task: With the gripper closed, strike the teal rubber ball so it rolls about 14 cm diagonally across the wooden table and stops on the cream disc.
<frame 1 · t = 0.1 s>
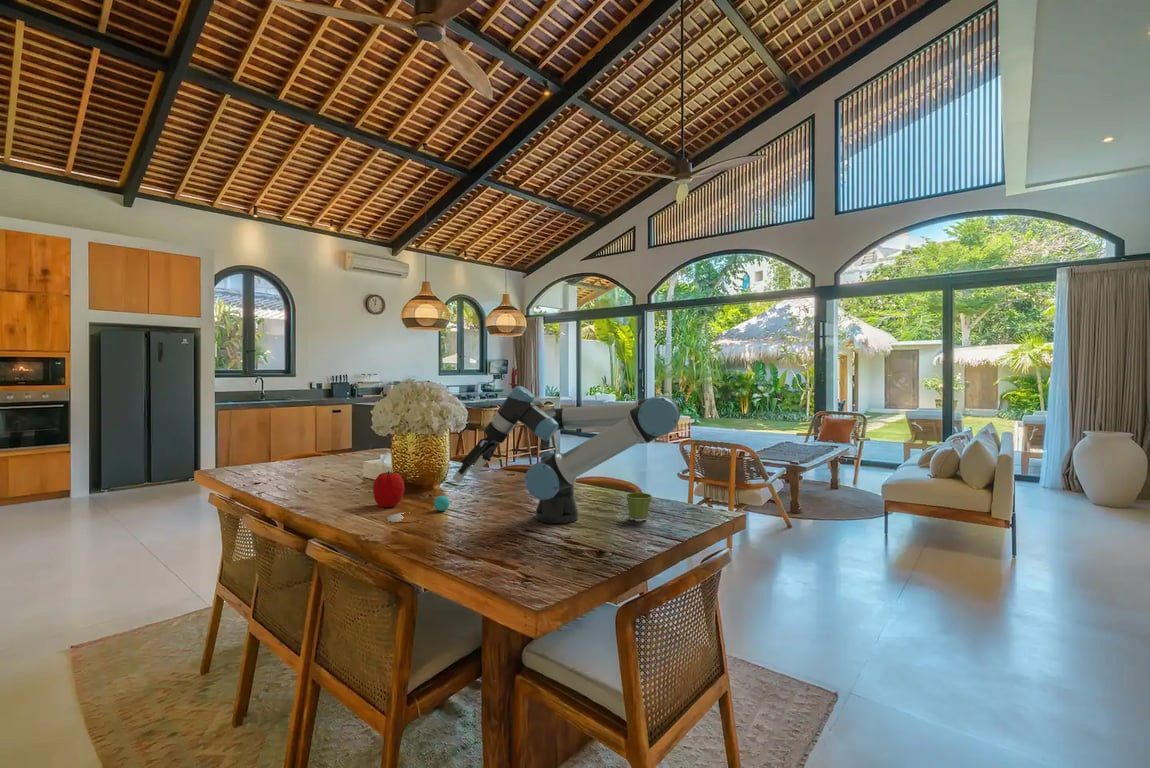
hand: (464, 476, 180), 15 cm above the table, tool tilted 35°, fingers open, 13 cm apart
tomato: (388, 506, 200), on the table
plant pot: (638, 520, 186), on the table
ball: (441, 503, 195), on the table
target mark: (406, 517, 184), on the table
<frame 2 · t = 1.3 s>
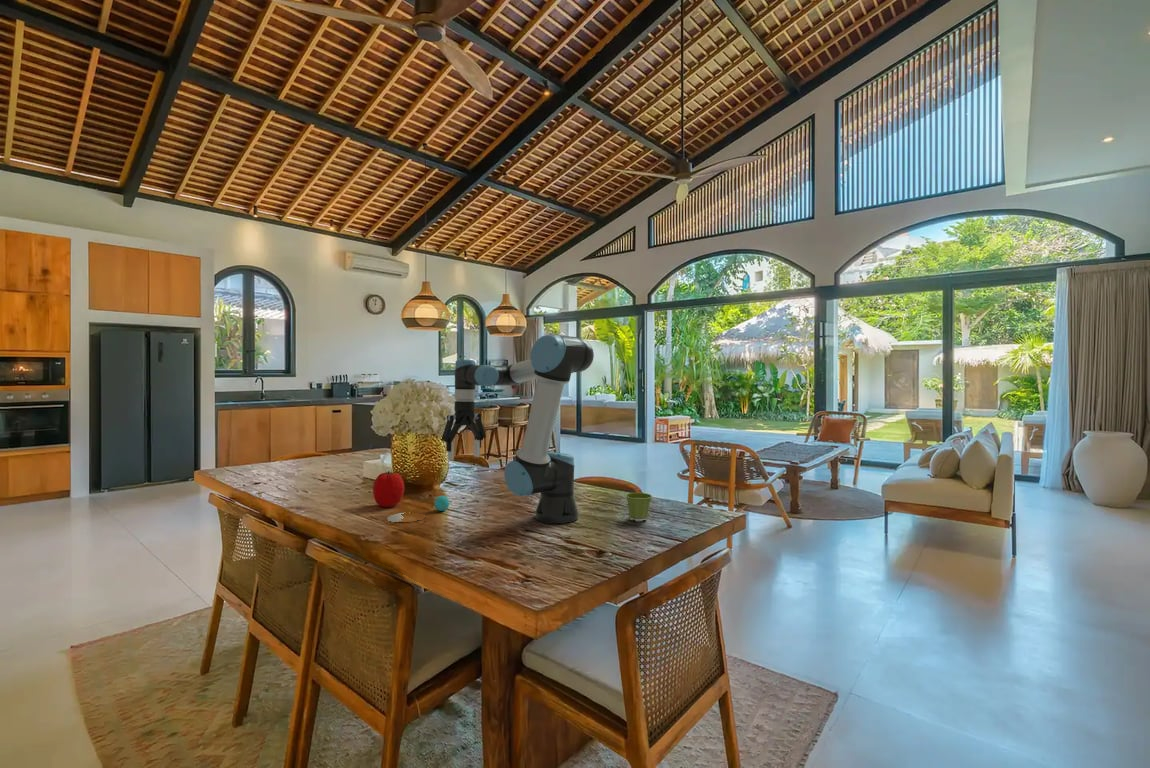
hand: (463, 458, 201), 18 cm above the table, tool pointing down, fingers open, 11 cm apart
nothing on the table moved.
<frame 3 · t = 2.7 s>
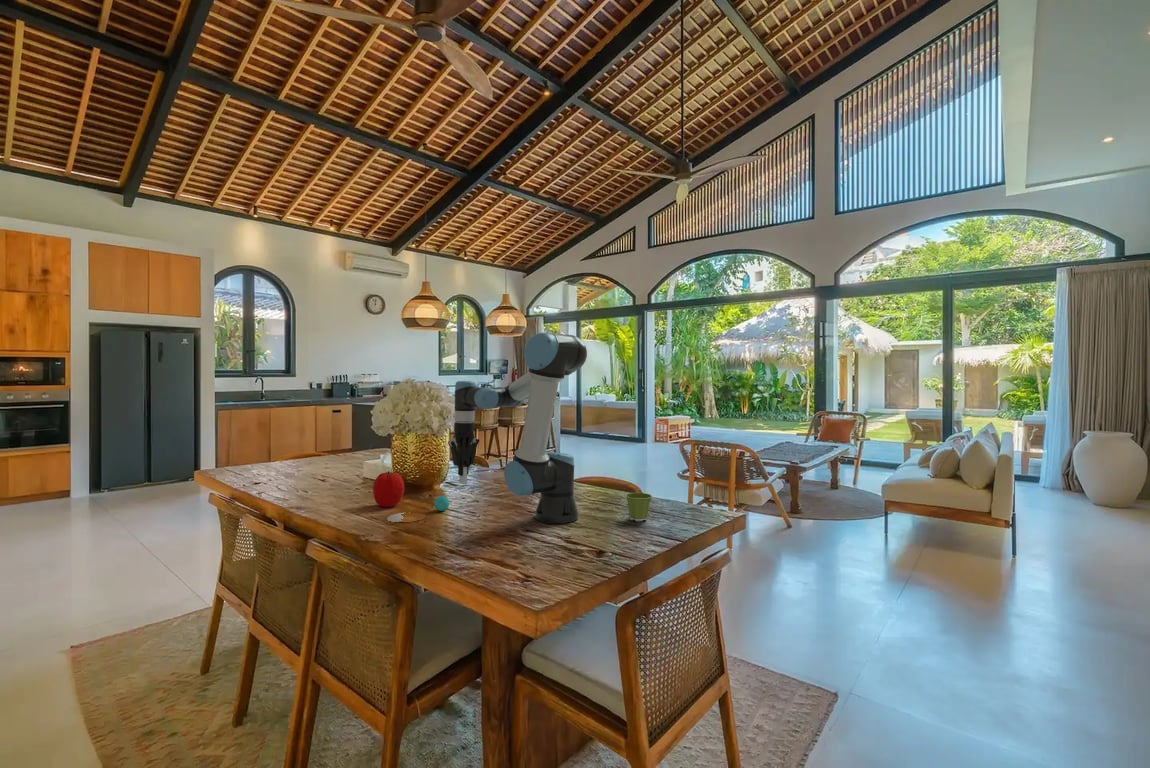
hand: (463, 483, 202), 9 cm above the table, tool pointing down, fingers closed
nothing on the table moved.
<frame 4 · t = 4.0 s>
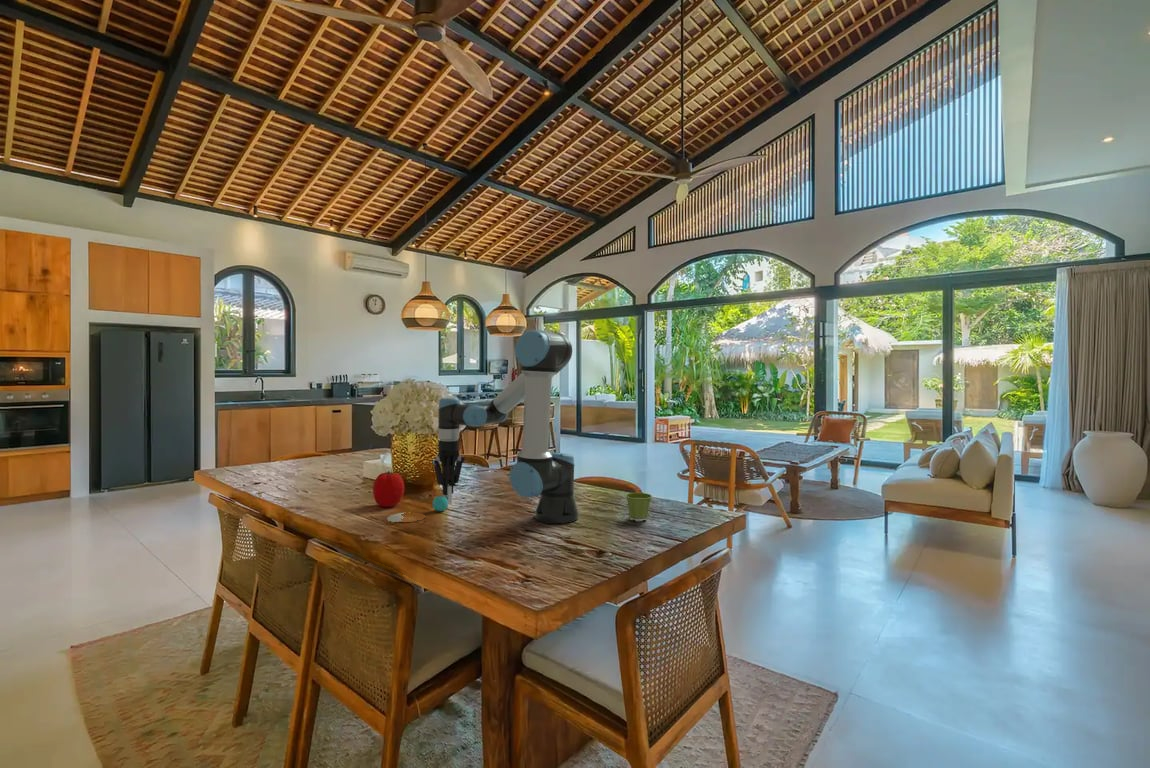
hand: (447, 503, 197), 2 cm above the table, tool pointing down, fingers closed
ball: (440, 503, 194), on the table, touching gripper
everything else where it was.
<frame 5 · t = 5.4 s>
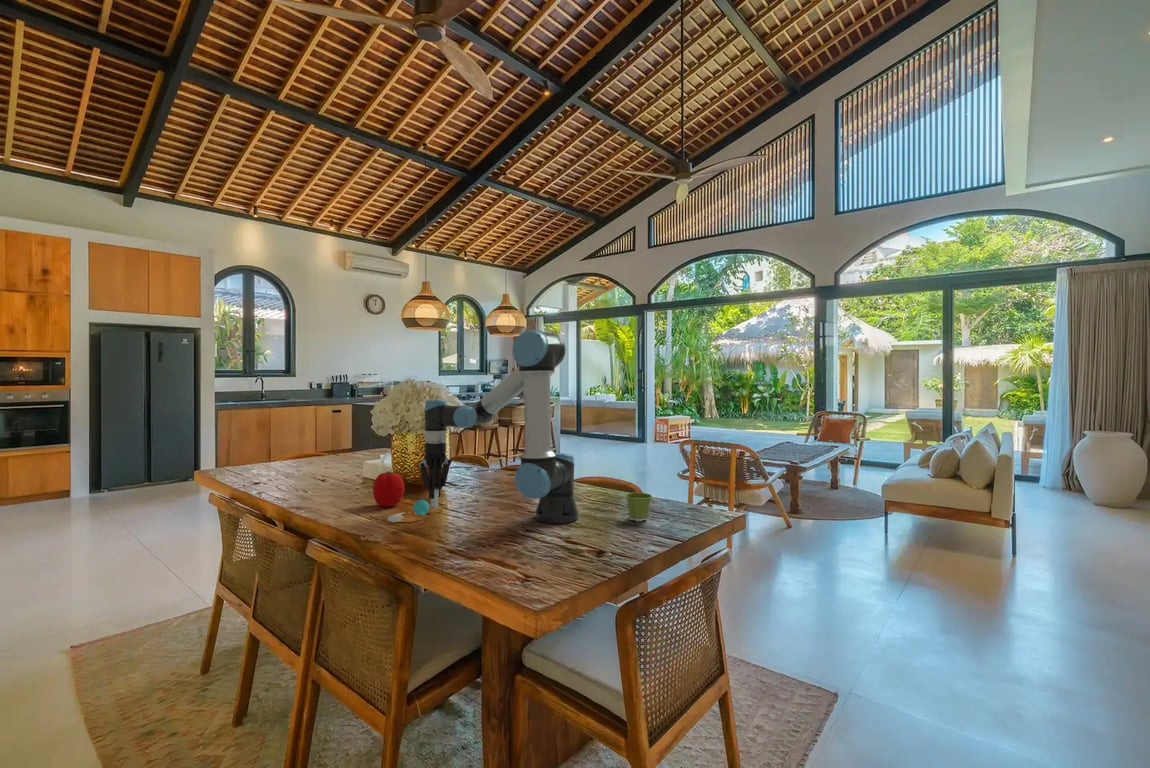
hand: (434, 506, 192), 2 cm above the table, tool pointing down, fingers closed
ball: (421, 507, 188), on the table
everything else where it was.
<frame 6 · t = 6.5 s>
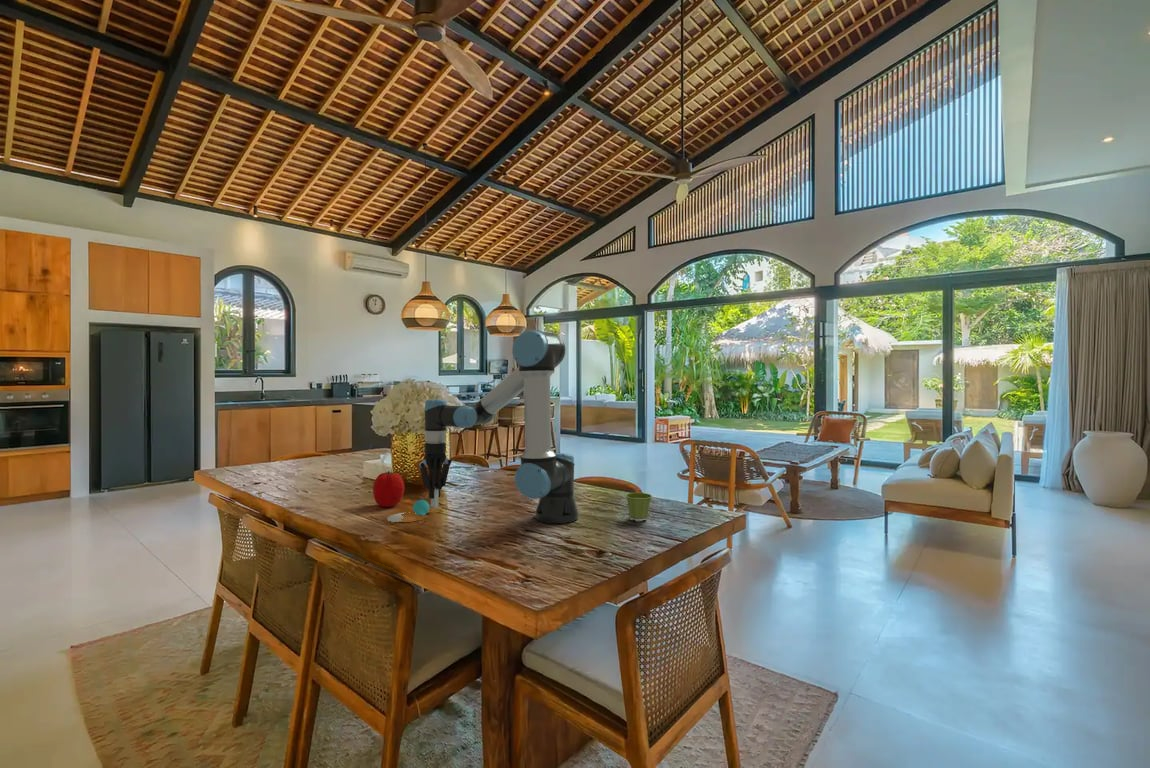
hand: (434, 506, 192), 2 cm above the table, tool pointing down, fingers closed
nothing on the table moved.
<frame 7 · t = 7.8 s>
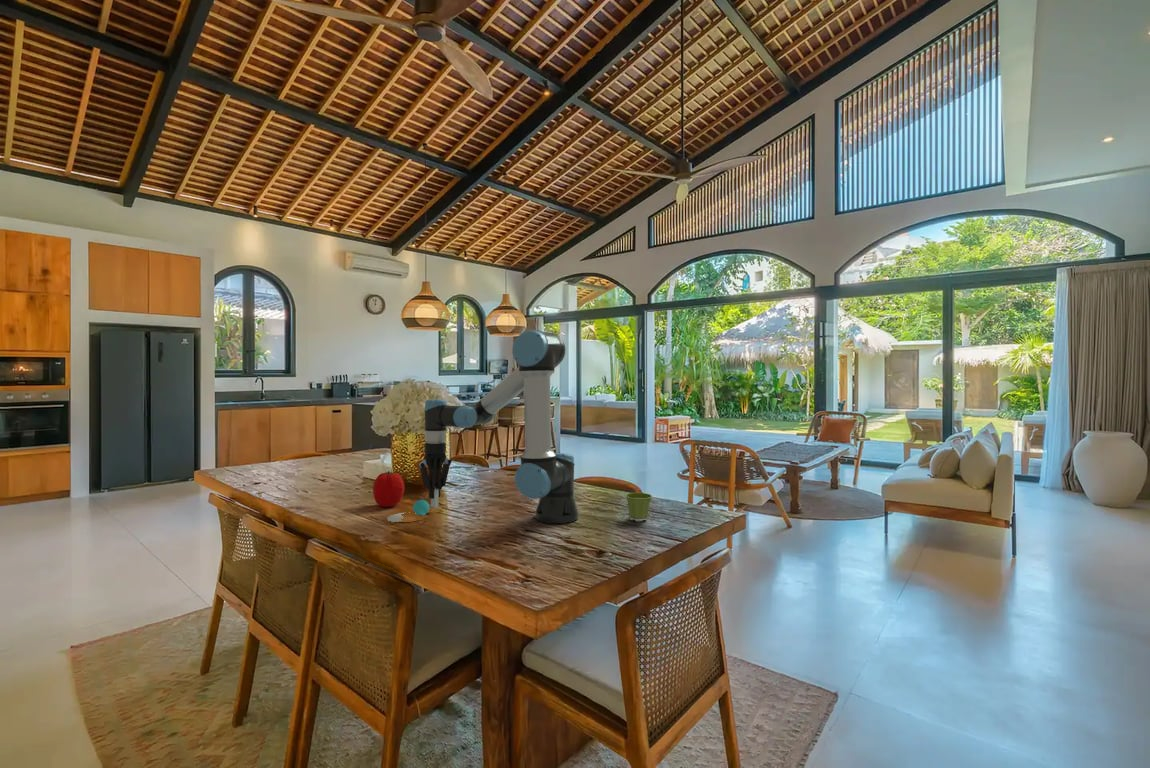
hand: (434, 506, 192), 2 cm above the table, tool pointing down, fingers closed
nothing on the table moved.
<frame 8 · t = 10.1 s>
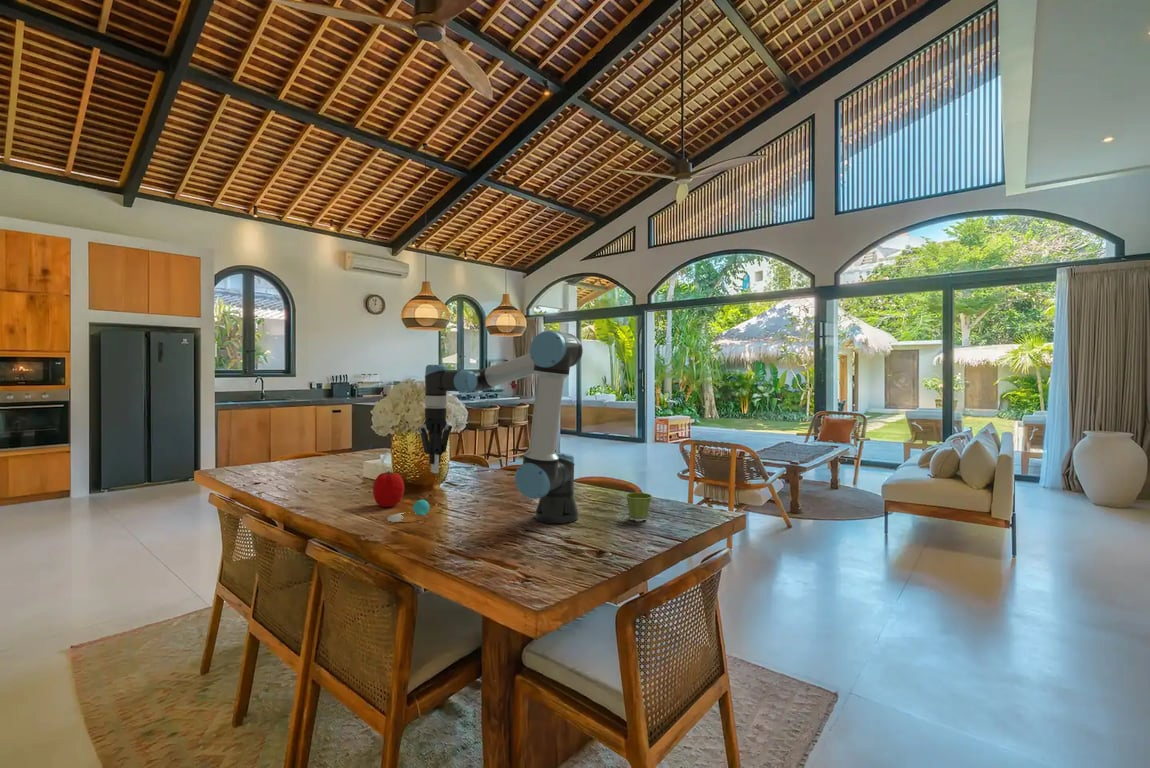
hand: (434, 472, 192), 14 cm above the table, tool pointing down, fingers closed
nothing on the table moved.
at the end: ball 5.3 cm from the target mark (horizontally); ball at rest at the end (0.0 cm/s); ball moved 8.7 cm from its start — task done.
